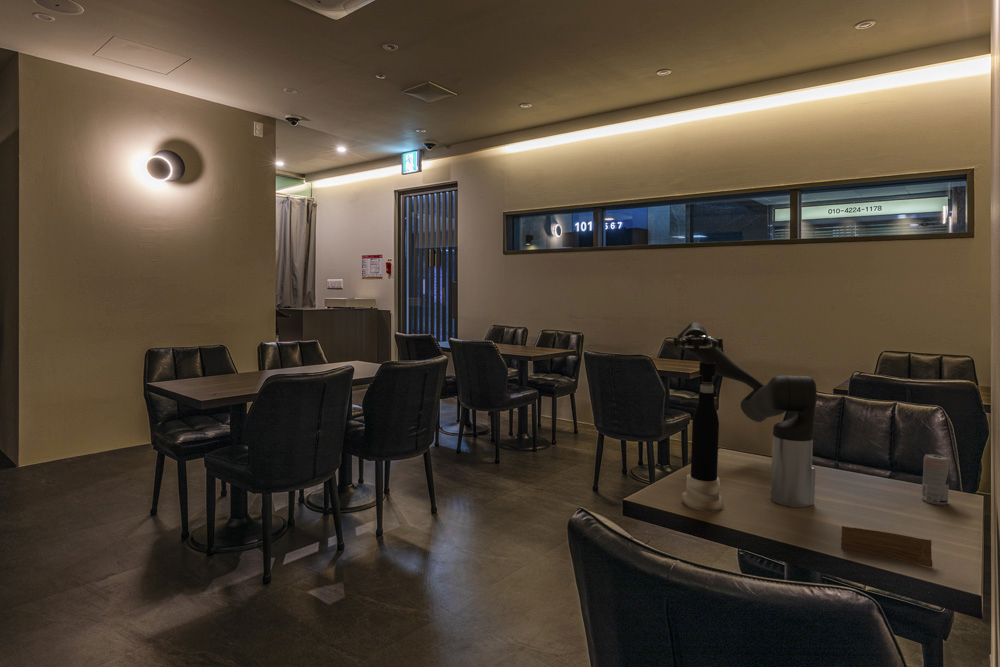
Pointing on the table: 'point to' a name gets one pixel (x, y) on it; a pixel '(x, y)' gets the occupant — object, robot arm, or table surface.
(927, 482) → the energy drink
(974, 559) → the table surface
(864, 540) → the wood plank
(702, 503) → the plinth
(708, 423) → the black bottle
